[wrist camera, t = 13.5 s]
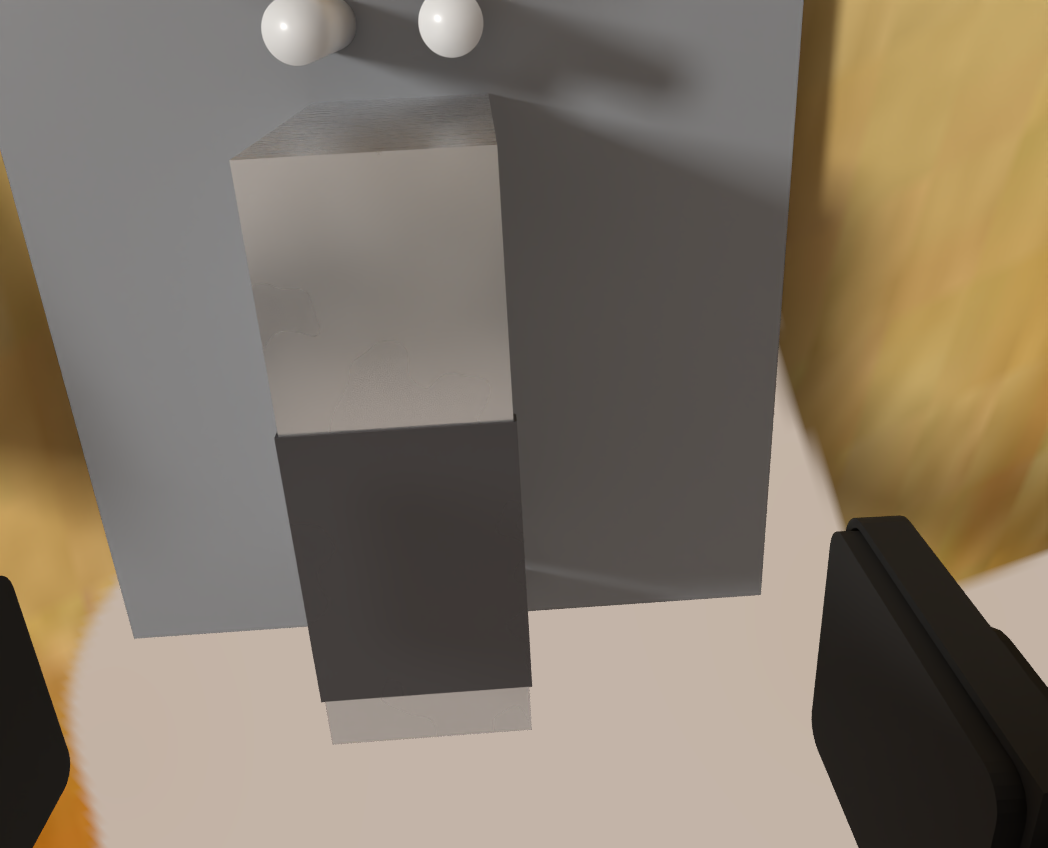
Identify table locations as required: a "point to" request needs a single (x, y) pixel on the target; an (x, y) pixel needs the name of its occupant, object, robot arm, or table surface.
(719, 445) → the pin tray
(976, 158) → the table surface
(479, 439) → the block
